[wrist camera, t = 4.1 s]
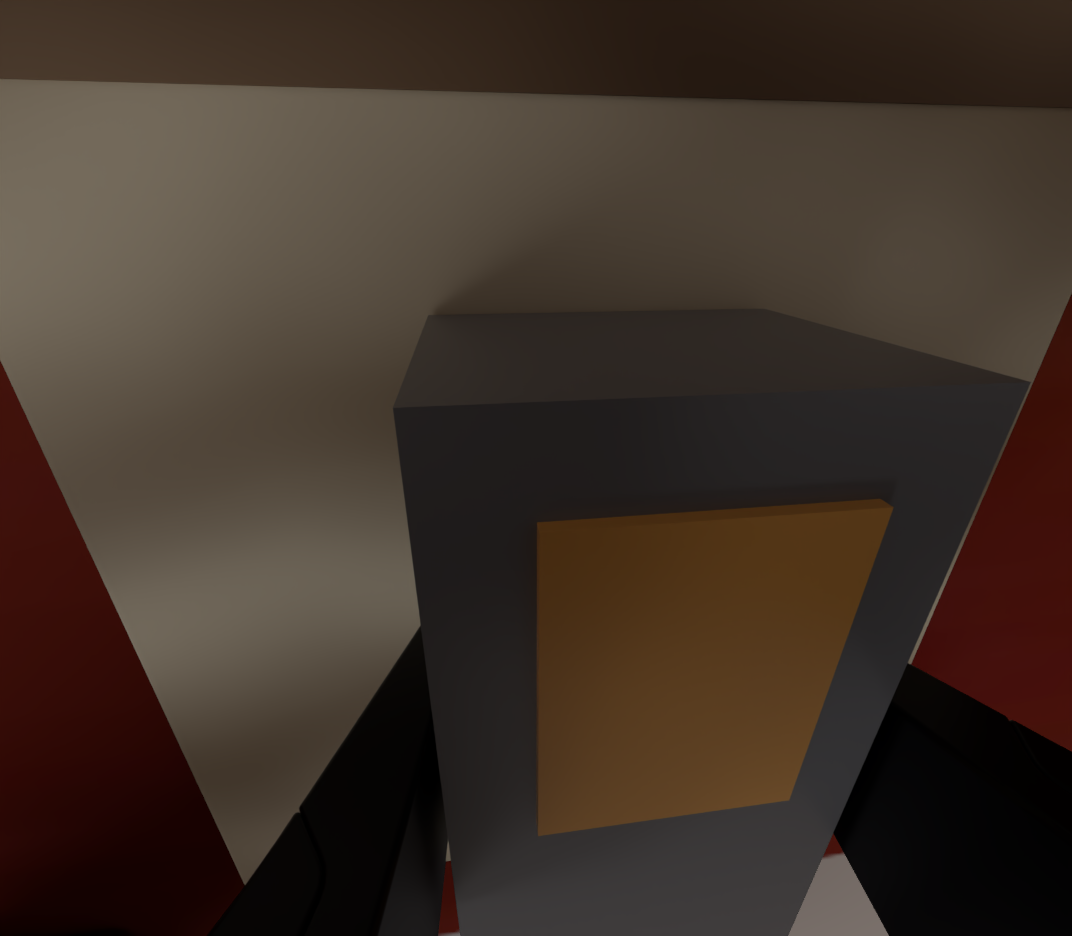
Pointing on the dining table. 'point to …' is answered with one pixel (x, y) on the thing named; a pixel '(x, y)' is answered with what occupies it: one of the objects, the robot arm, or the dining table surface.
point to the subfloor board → (454, 271)
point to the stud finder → (671, 597)
